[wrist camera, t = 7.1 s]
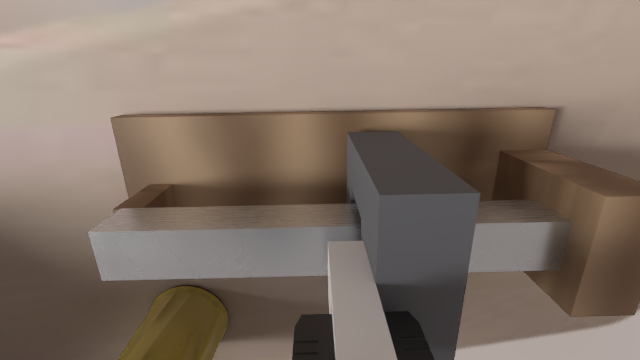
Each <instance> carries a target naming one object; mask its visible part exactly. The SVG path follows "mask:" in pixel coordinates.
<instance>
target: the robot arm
mask: <svg viewBox="0 0 640 360" xmlns="http://www.w3.org/2000/svg"><path fill="white" fill-rule="evenodd" d="M328 300H329V314H312V315H301V317H300V319H299V321H298V322H297V324H296V326H295V330H294V344H293V356H292V360H435V359H434V357H433V355H432V352H431V351H430V347H429V345H428V342H427V340H426V339H425V335H424V333H423V330H422V328H421V326H420V323H419V322H418V321H417V320H416V319H415V318H414V317H413V316H412V315H411V314H410V312H409V311H392V312H384V311H383V307H382V304H381V300H380V297H379V293H378V290H377V286H376V284H375V280H374V277H373V273H372V270H371V266H370V263H369V259H368V256H367V252H366V249H365V245H364V242H363V241H328Z"/></svg>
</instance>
